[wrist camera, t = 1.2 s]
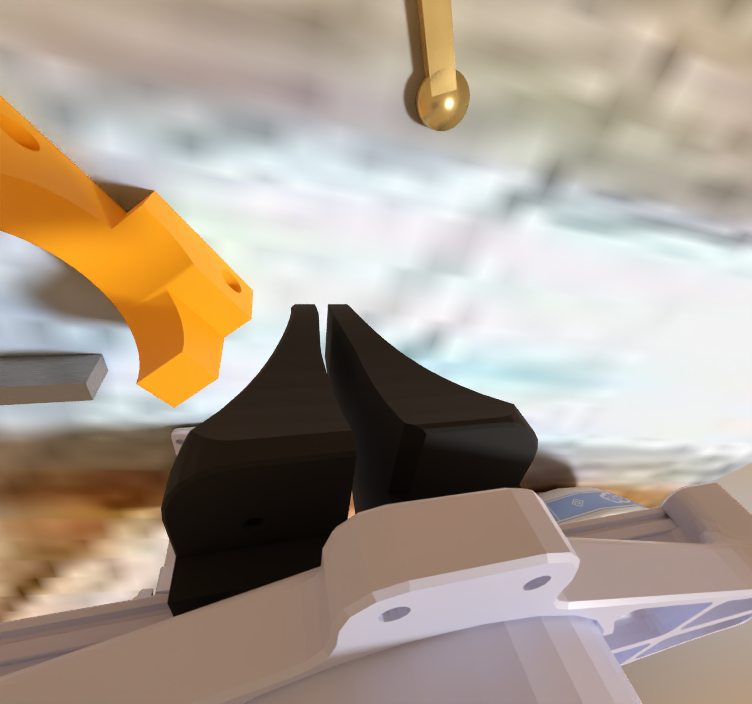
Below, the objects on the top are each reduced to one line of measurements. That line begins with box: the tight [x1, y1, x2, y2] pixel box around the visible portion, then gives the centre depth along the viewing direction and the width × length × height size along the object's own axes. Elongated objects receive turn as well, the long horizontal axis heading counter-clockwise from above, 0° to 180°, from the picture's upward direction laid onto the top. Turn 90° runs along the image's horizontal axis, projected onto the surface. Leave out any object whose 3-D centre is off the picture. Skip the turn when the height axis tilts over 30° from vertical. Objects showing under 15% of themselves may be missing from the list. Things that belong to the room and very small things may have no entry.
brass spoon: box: [416, 0, 470, 131], centre depth 16 cm, size 6×2×1 cm, turn 13°
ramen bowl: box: [536, 487, 648, 524], centre depth 43 cm, size 25×23×8 cm
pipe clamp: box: [0, 96, 253, 407], centre depth 16 cm, size 12×4×6 cm, turn 31°
